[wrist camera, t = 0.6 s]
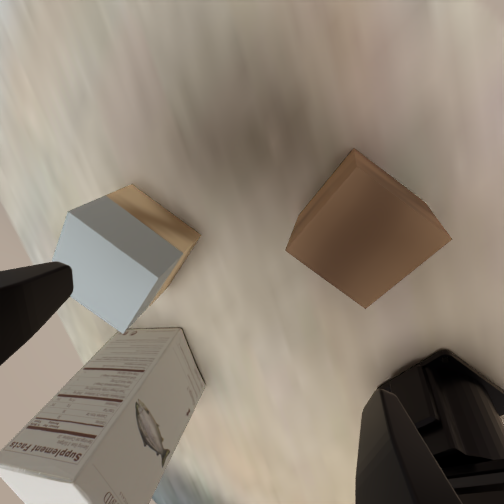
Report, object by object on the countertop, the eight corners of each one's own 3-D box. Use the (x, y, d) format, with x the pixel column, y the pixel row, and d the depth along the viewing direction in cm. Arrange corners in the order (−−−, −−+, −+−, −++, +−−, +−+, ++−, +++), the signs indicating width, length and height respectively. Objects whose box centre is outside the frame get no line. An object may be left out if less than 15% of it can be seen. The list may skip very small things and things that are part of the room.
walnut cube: (424, 202, 17) (452, 239, 12) (360, 261, 19) (365, 308, 15) (354, 147, 16) (356, 166, 12) (298, 215, 19) (285, 250, 15)
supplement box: (208, 385, 29) (128, 557, 18) (146, 381, 32) (43, 531, 21) (184, 325, 26) (71, 486, 15) (117, 326, 29) (-20, 466, 18)
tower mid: (183, 253, 19) (158, 277, 17) (148, 306, 22) (123, 334, 20) (105, 195, 19) (67, 211, 16) (81, 257, 22) (46, 279, 19)
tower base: (202, 233, 22) (183, 252, 19) (169, 284, 25) (149, 306, 22) (133, 183, 21) (105, 195, 19) (109, 241, 24) (81, 258, 22)
